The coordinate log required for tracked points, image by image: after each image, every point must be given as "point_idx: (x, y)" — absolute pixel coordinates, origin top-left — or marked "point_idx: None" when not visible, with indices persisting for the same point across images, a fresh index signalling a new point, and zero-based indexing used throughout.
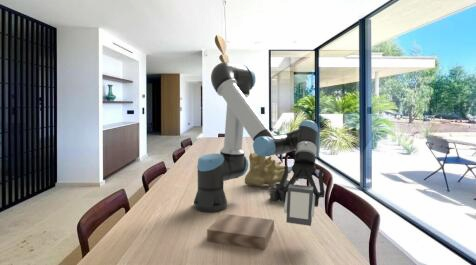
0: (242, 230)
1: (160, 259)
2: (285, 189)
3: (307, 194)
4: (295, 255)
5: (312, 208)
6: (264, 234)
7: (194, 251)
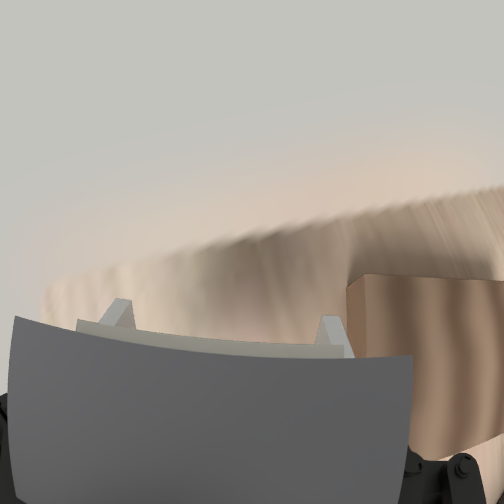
0: (449, 311)
1: (499, 190)
2: (408, 468)
3: (104, 326)
4: (235, 272)
5: (111, 319)
6: (374, 302)
7: (484, 230)
